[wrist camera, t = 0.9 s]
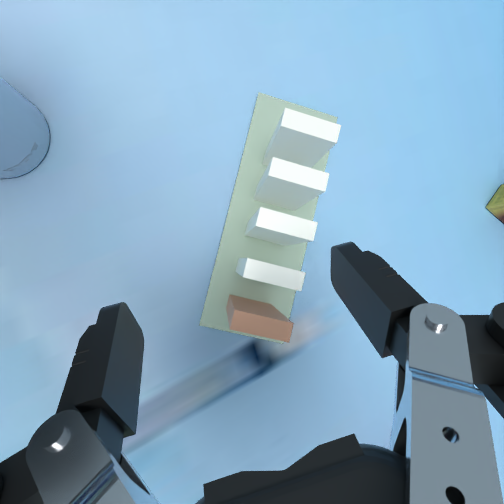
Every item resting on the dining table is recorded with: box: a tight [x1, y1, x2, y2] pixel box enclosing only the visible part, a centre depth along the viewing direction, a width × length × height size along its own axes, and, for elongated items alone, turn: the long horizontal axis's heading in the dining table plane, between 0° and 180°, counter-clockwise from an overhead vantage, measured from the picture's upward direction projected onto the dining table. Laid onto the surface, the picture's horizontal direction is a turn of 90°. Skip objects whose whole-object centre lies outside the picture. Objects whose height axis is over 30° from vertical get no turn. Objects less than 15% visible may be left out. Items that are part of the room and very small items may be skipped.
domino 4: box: [235, 258, 306, 291], centre depth 29 cm, size 2×5×10 cm, turn 76°
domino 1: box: [262, 108, 341, 168], centre depth 29 cm, size 2×5×10 cm, turn 76°
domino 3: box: [245, 207, 318, 246], centre depth 29 cm, size 2×5×10 cm, turn 76°
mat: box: [199, 93, 338, 344], centre depth 34 cm, size 28×10×1 cm, turn 166°
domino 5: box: [226, 294, 294, 342], centre depth 28 cm, size 2×5×10 cm, turn 76°
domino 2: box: [253, 157, 329, 211], centre depth 29 cm, size 2×5×10 cm, turn 76°
